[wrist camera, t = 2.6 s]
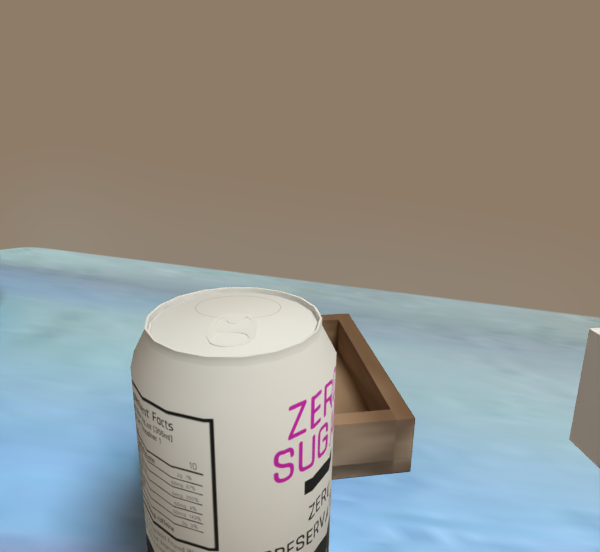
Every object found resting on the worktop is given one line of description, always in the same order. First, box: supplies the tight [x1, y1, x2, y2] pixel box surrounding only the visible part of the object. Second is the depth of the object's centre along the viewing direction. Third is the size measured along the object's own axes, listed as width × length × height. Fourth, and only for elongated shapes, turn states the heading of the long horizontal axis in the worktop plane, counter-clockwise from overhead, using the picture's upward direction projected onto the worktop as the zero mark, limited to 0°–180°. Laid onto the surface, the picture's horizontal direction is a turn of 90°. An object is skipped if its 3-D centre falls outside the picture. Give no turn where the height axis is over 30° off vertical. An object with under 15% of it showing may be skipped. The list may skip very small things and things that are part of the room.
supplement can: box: [131, 287, 337, 552], centre depth 25 cm, size 8×8×15 cm
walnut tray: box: [321, 314, 415, 479], centre depth 43 cm, size 16×17×4 cm
